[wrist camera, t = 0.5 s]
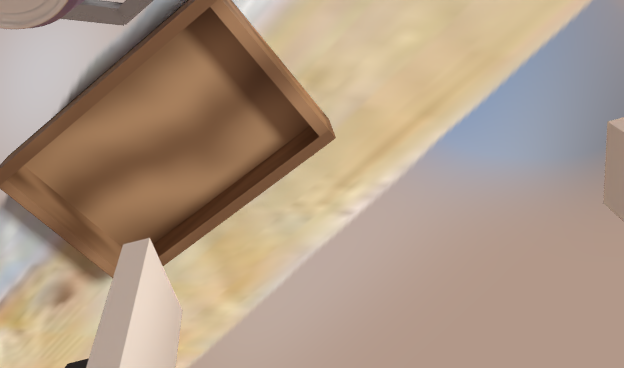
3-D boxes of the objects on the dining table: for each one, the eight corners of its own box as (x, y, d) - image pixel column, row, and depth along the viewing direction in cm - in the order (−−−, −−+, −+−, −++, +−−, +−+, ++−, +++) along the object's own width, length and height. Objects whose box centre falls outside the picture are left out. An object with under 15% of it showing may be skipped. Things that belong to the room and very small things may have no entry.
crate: (7, 156, 40) (-12, 179, 37) (213, -22, 36) (210, -14, 33) (137, 263, 46) (129, 290, 43) (328, 119, 42) (335, 137, 39)
